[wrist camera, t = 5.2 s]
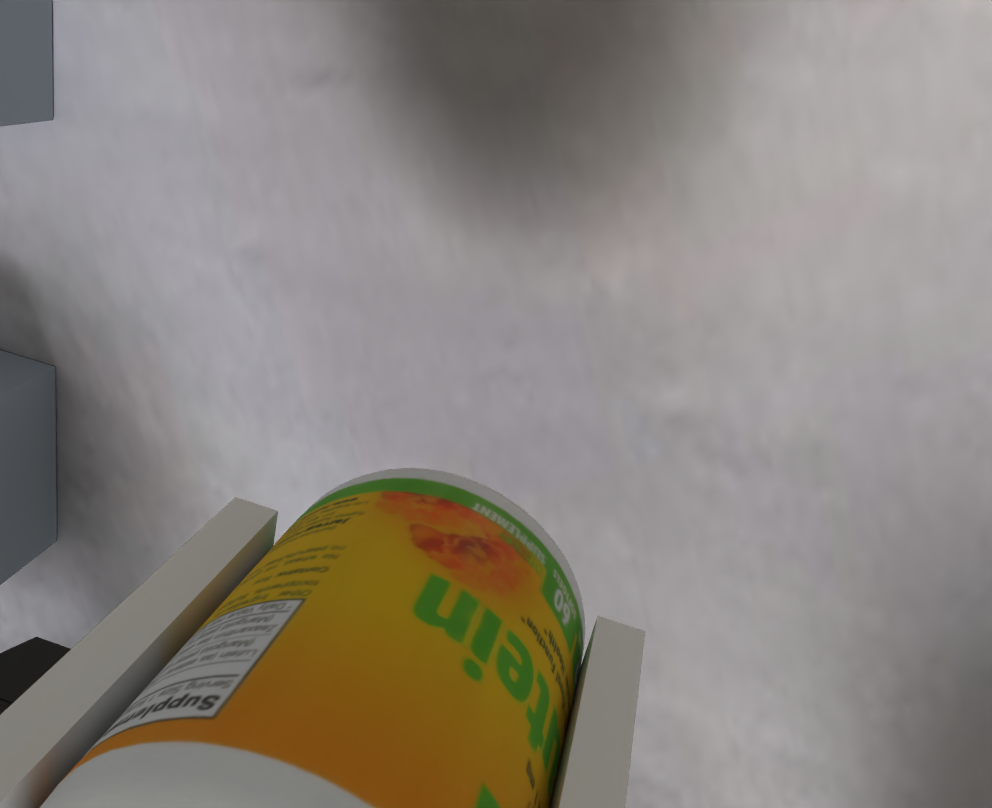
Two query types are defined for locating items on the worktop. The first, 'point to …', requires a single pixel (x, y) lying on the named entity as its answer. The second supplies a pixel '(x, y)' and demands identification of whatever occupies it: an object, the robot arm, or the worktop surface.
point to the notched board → (5, 376)
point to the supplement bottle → (364, 666)
